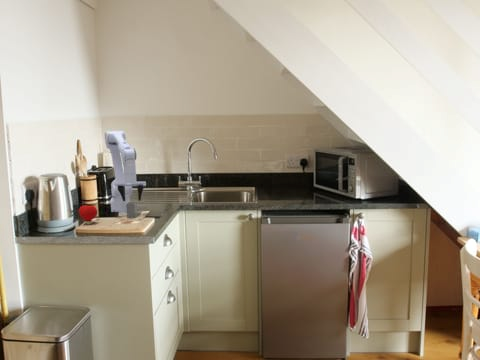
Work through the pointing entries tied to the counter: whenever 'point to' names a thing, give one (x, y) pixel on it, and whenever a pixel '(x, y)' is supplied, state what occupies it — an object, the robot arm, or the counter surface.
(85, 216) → the red heart ornament
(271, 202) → the counter surface
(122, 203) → the robot arm
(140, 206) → the counter surface
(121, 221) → the socket board
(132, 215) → the plug
